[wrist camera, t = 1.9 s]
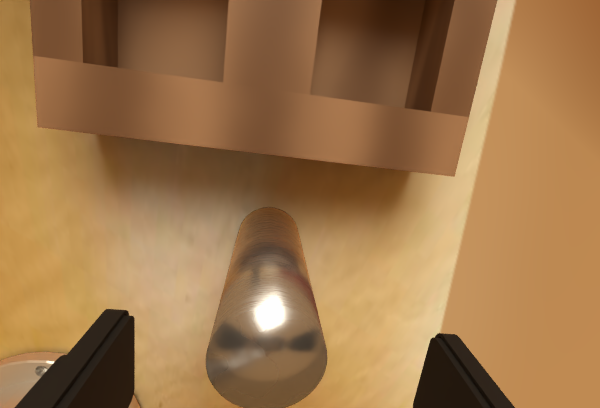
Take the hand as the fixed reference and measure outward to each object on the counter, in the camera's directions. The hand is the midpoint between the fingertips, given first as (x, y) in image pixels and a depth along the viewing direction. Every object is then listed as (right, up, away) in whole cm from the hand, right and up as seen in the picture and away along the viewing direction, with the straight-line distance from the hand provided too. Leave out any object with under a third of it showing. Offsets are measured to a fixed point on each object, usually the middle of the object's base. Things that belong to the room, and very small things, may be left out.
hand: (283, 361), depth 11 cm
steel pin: (-2, +3, +12) cm, 13 cm away
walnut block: (-1, +14, +9) cm, 17 cm away
